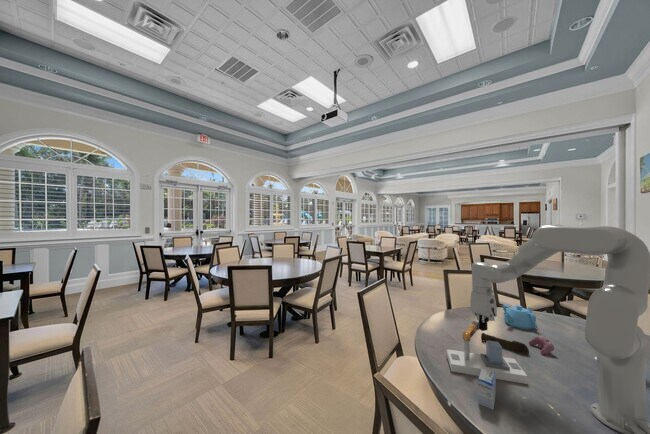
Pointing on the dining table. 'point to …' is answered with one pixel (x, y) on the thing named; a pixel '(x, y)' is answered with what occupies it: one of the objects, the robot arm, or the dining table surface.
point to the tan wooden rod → (471, 331)
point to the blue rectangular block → (494, 352)
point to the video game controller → (542, 344)
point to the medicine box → (487, 388)
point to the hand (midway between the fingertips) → (483, 329)
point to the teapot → (519, 317)
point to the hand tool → (507, 343)
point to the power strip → (484, 365)
